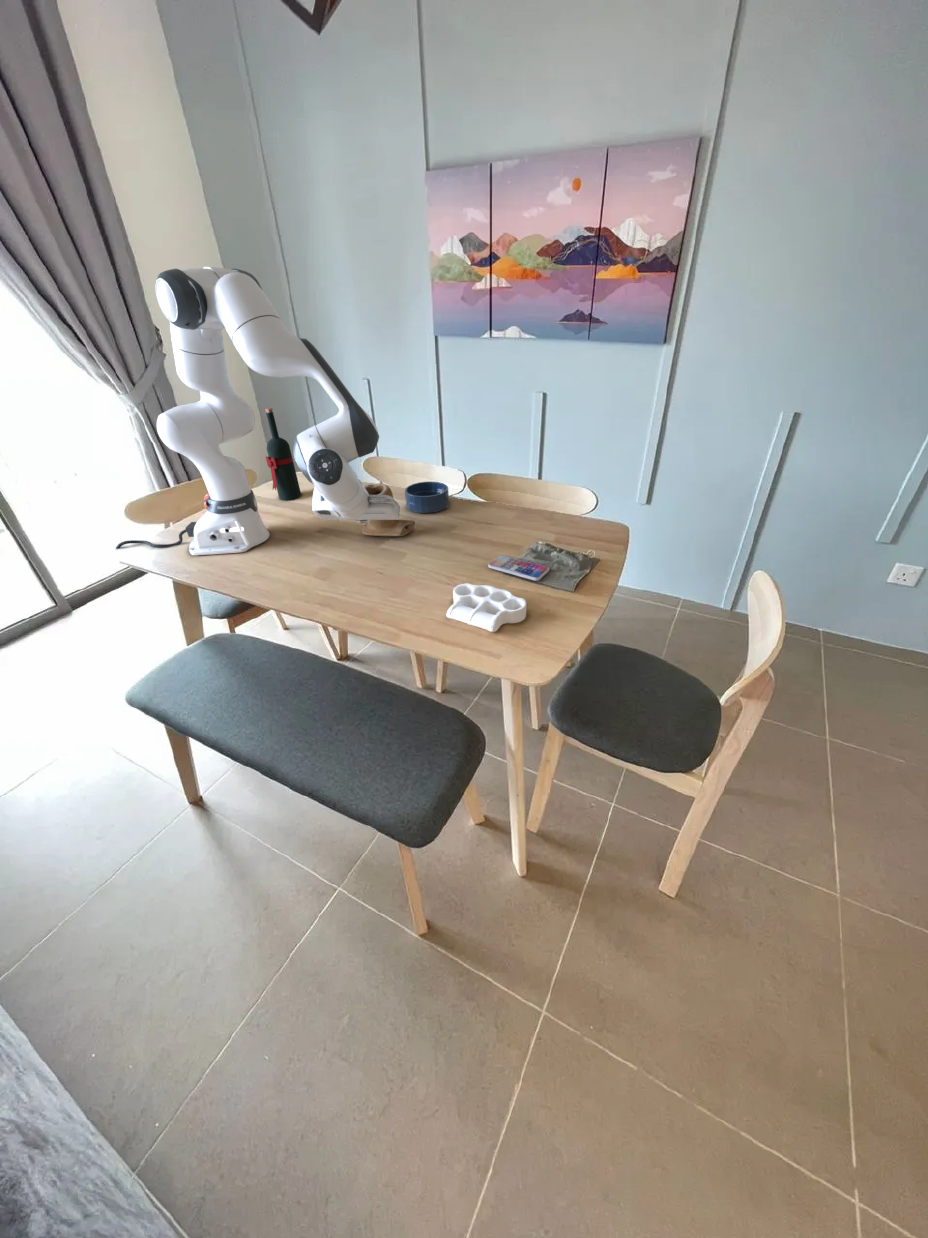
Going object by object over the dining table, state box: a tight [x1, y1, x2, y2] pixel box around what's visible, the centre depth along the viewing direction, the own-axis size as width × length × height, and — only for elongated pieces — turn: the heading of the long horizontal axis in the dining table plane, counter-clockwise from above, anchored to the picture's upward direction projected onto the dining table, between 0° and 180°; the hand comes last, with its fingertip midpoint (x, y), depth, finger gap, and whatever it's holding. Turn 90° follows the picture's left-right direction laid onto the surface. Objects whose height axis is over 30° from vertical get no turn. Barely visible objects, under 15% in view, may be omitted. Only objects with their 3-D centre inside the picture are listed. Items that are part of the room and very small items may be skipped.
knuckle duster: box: [445, 582, 527, 633], centre depth 111 cm, size 3×18×15 cm
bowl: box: [404, 481, 450, 514], centre depth 164 cm, size 14×14×6 cm
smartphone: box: [487, 554, 550, 582], centre depth 127 cm, size 7×1×15 cm
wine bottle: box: [264, 407, 302, 502], centre depth 168 cm, size 8×10×30 cm
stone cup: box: [361, 482, 416, 537], centre depth 144 cm, size 15×12×15 cm
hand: (365, 520), depth 127 cm, fingers closed
